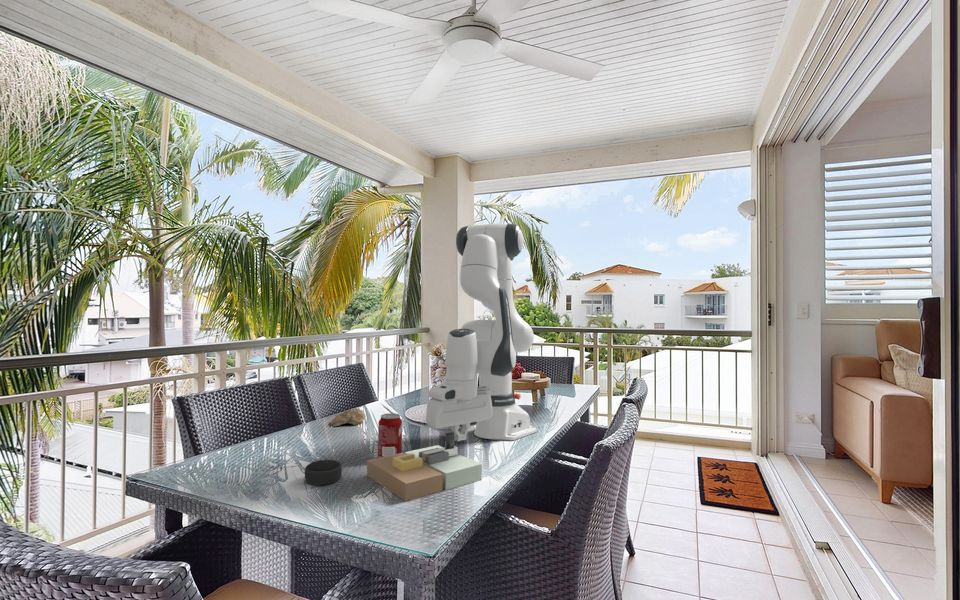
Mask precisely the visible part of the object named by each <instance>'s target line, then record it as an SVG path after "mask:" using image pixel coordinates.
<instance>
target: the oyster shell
mask: <svg viewBox="0 0 960 600" xmlns="http://www.w3.org/2000/svg"><path fill="white" fill-rule="evenodd" d="M366 417H367V416H366V413H365V412H364V411H363V410H362V409H360V408H357V407H353V408H351V409H346V410H344V411H341V412H339V413H338V414H337V415H335V416H334V418H333V419H332V420H331V421H330V423H329V424H330V425H331V426H333V427H332V428H334V427H338V426H342V425H345V424H351V425H354V426H359V425H361V424H363V422H364V421H365V420H366ZM358 424H359V425H358ZM330 425H329V426H330ZM331 426H330V427H331Z"/></svg>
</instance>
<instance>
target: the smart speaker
mask: <svg viewBox="0 0 960 600" xmlns="http://www.w3.org/2000/svg"><path fill="white" fill-rule="evenodd" d="M342 468H343V467H342V464H341V462H339V461H337V460H334V459H323V460H321V459H320V460H316V461H312V462H310V463H308V464H307V465H306V466H305V468H304V481H305V482H306V483H307V484H309V485H312V486H327V485H331V484H334V483H336V482H338V481H340V479H342V475H343V474H342V473H343V472H342Z"/></svg>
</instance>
